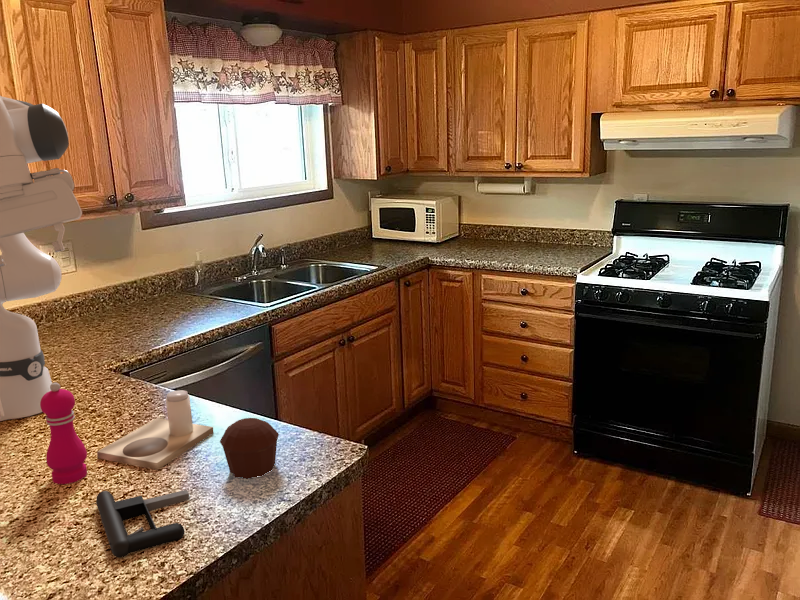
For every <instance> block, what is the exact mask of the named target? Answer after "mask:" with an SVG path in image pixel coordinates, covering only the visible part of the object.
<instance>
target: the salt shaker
mask: <svg viewBox="0 0 800 600" xmlns="http://www.w3.org/2000/svg"><path fill="white" fill-rule="evenodd" d="M165 406H166V415H167V420H168V422H169V430H170V435H171V436H175V437H180V436H185V435H188V434H190V433H192V432H193V424H194V423H193V416H192V407H191V399H190V395H189V394H188V391H187V390H183V389H181V390H178V389H177V390H174V391H173V390H172V391H170V392H168V393H167V394H166V398H165Z"/></svg>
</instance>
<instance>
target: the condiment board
mask: <svg viewBox="0 0 800 600" xmlns="http://www.w3.org/2000/svg"><path fill="white" fill-rule="evenodd" d="M213 434H214V426H209V425H203V424H196V423H193V432H192V433H190V434H188V435H185V436H180V437H175V436H171V435H170V430H169V422H168V418H167V419H165V418H160V417H156V418H154V419H153V420H151V421H148V423H146V424H144V425H142V426H140V427H138V428H137V429H134V430H133V431H131V432H129V433H128V434H126V435H124V436H123V437H121V438H118V439H117V440H115V441H113V442H112V443H110V444H108V445H106V446H105V447H103V448H101V449H99V450H97V451H96V454H97V459H100V460H106V461H111V462H115V463H121V464H127V465H131V466H137V467H141V468H146V469H152V470H156V471H158V470H159V469H162V468H163V467H164V466H166V465H167V464H169V463H170V462H172V461H174V460H175V459H176V458H178V457H179V456H181V455H182V453H183V454H184V453H186V452H187V451H189V450H190V449H192V448H193V447H195V446H196V445H198V444H199V443H201V442H202V441H204V440H205V439H206V438H208V437H211V435H213ZM203 439H204V440H203ZM200 441H201V442H200ZM197 443H198V444H197ZM191 447H192V448H191ZM188 449H189V450H188Z"/></svg>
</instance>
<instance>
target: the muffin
mask: <svg viewBox="0 0 800 600" xmlns="http://www.w3.org/2000/svg"><path fill="white" fill-rule="evenodd" d="M279 436H280V435H279V432H277V430H276V429H275V428H274V427H273V426H272V425H271V424H270V423H269V422H267V421H265V420H263V419H259V418H257V417H248V418H247V417H245V418H242V419H241V418H240V419H238V420H236V421H234V422H233V423H231V424H230V425H229V426H227V428H226V429H225V431H224V433H223V435H222V436H221V439H220V441H219V443H220V445H221V446H222V449H223V452H224V456H225V459H226V463H227V467H228V470H229V472H230V473H231V474H232V473H233V474H232V475H233V477H234V478H238V477H243V478H242V479H244V478H246V479H245V480H249V479H248V478H250V479H253V478H252V477H256V478H258V477H257V476H262V475H264V474H265V473H267V472H269V471H271V470H272V469H274V467H275V465H276V460H277V459H276V458H277V456H276V455H277V444H278V443H277V442H278V438H279ZM274 464H275V465H274ZM273 466H274V467H273ZM272 471H273V470H272ZM272 471H271V472H272ZM269 473H270V472H269ZM267 474H268V473H267ZM265 475H266V474H265ZM265 475H264V476H265ZM262 477H263V476H262Z"/></svg>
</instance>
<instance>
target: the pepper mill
mask: <svg viewBox="0 0 800 600" xmlns="http://www.w3.org/2000/svg"><path fill="white" fill-rule="evenodd" d="M50 389H51V391H49V392H47V393H46V394H45V395H44V396H43V397H42V399H41V402H40V407H41V410H42V412H41V413H43V414H45V415H46V416H45V423H46V424H47V425H48V427H49V429H50V440H49V444H48V447H47V450H46V456H45V459H46V465H47V466H48V468H50V469H51V470H52V471H51V479H52V482H53V484H55V485H69V484H70V485H71V484H72V483H76V482H79V481H81V480H82V479H84V478H85V477H86V476H87V475H88V468H87V465H86V463H84V462H85V461H86V459H87V457H88V452H87V448H86V446H85V444H84V442H83V441H82V440H81V438H80V437H79V436H78V434H77V432H76V430H75V427H74V426H75V425H74V420H75V419H76V418H75V417H76V416H75V412H74V410H73V408H74V407H75V405H76V399H75V396H74V394H73V393H72V391H70V390H68V389H65V388H61V384H60V383H58V382H52V384H51V385H50Z"/></svg>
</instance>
